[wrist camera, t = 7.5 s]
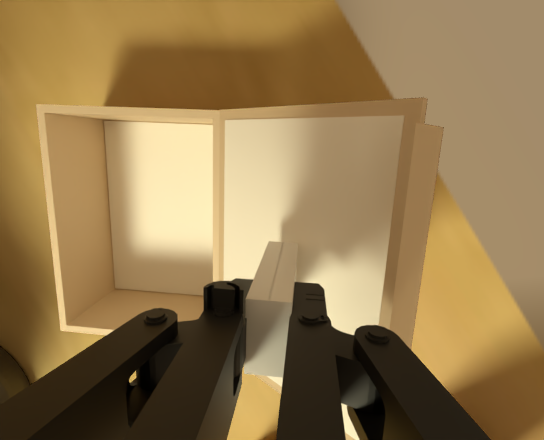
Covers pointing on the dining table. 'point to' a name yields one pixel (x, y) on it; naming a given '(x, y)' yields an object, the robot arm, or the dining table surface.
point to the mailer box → (130, 210)
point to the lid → (333, 204)
